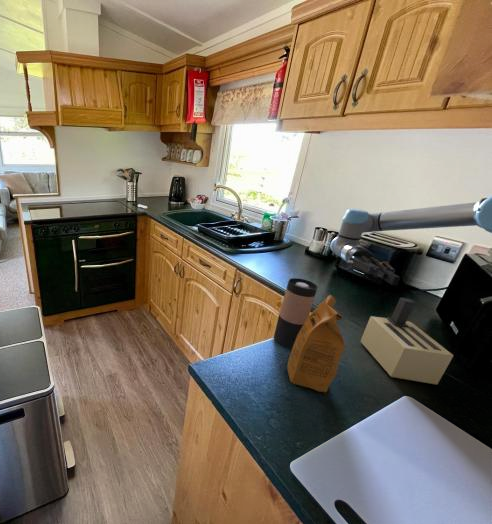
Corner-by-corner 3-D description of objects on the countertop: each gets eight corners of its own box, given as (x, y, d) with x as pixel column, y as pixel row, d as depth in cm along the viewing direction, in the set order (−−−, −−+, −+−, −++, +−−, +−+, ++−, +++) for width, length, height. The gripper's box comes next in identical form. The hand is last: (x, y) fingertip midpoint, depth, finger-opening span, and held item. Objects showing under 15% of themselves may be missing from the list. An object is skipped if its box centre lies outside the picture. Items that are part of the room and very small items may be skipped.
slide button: (386, 318, 87) (396, 296, 84) (399, 320, 86) (409, 297, 83) (394, 325, 83) (405, 302, 80) (408, 327, 83) (419, 304, 80)
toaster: (359, 342, 92) (370, 315, 88) (397, 348, 90) (410, 321, 87) (390, 378, 77) (405, 347, 74) (436, 386, 76) (454, 355, 72)
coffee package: (326, 369, 79) (353, 298, 71) (329, 400, 69) (361, 321, 61) (287, 355, 83) (308, 287, 75) (284, 383, 73) (308, 307, 65)
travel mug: (268, 333, 93) (283, 277, 86) (292, 335, 93) (309, 279, 86) (278, 348, 86) (295, 288, 79) (304, 350, 86) (323, 290, 79)
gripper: (372, 267, 109) (414, 295, 88) (335, 262, 111) (367, 289, 90) (379, 248, 107) (425, 272, 85) (341, 244, 109) (376, 266, 87)
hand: (395, 281), depth 87 cm, fingers closed
